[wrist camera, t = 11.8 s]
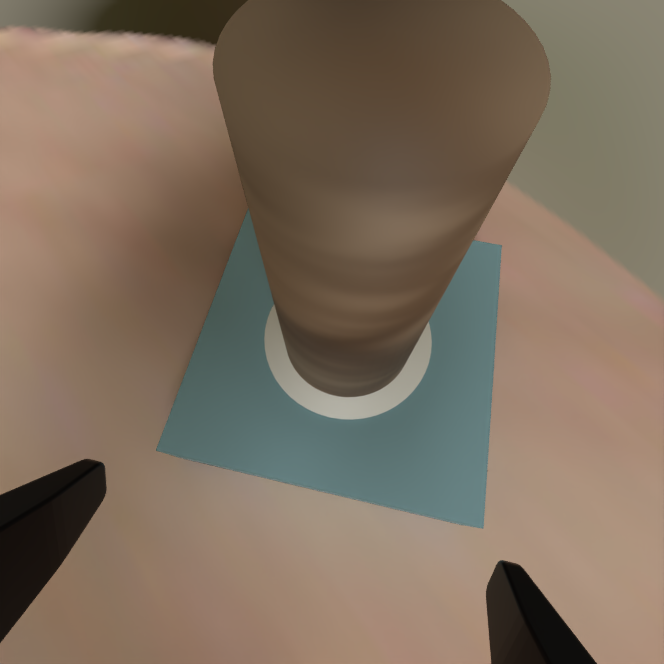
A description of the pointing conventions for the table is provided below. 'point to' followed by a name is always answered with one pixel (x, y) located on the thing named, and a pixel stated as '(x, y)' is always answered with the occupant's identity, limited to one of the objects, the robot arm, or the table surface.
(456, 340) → the plinth
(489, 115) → the walnut post
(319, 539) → the table surface
